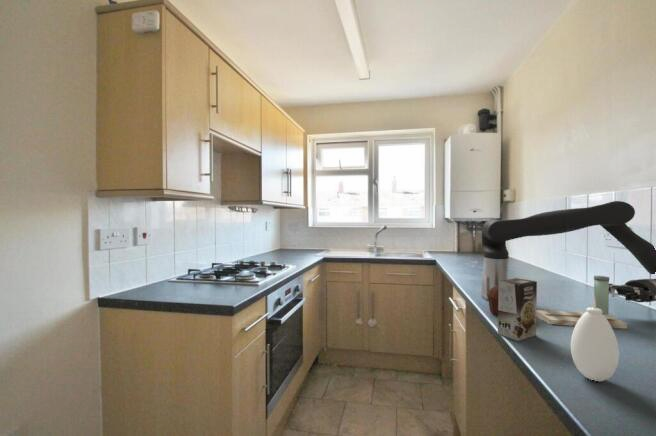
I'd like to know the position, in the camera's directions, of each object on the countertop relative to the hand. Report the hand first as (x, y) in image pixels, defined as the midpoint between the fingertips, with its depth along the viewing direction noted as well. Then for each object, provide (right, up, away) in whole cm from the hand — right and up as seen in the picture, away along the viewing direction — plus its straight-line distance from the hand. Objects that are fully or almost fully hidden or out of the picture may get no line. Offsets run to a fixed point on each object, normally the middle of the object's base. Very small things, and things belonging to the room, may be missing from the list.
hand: (611, 293), depth 102 cm
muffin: (-32, -9, +7) cm, 34 cm away
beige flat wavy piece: (-11, -9, 0) cm, 14 cm away
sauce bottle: (-37, -10, -36) cm, 52 cm away
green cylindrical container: (-4, -7, -1) cm, 8 cm away
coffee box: (-38, -10, -11) cm, 41 cm away
